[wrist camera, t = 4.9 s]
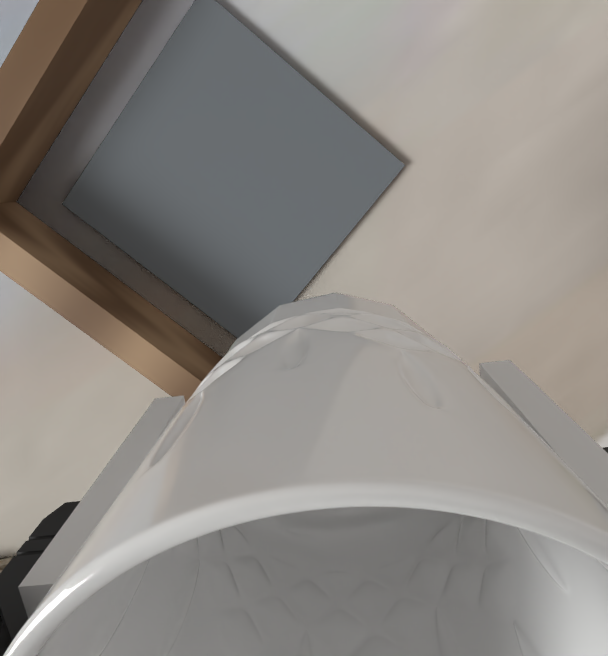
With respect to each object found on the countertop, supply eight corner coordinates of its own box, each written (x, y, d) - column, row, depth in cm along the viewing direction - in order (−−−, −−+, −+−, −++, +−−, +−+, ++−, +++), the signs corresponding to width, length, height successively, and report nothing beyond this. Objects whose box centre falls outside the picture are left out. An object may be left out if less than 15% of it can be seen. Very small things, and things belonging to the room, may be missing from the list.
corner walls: (-24, 206, 27) (-82, 210, 23) (133, -54, 24) (96, -99, 20) (235, 399, 29) (221, 432, 26) (412, 187, 26) (427, 188, 22)
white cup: (393, 568, 16) (504, 1136, 7) (152, 468, 16) (-116, 943, 6) (532, 346, 14) (978, 701, 5) (262, 218, 13) (127, 322, 4)
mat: (64, 203, 27) (62, 203, 27) (203, -9, 24) (202, -11, 24) (253, 348, 29) (252, 350, 28) (404, 165, 26) (405, 165, 25)
